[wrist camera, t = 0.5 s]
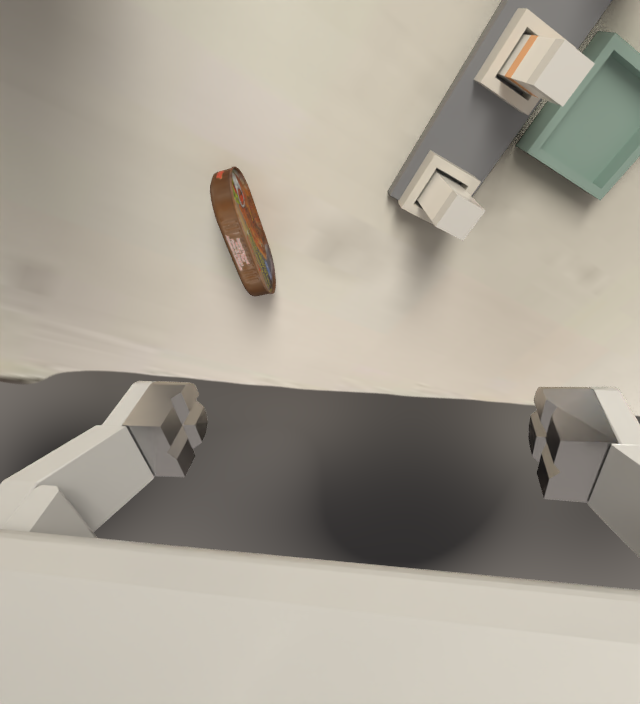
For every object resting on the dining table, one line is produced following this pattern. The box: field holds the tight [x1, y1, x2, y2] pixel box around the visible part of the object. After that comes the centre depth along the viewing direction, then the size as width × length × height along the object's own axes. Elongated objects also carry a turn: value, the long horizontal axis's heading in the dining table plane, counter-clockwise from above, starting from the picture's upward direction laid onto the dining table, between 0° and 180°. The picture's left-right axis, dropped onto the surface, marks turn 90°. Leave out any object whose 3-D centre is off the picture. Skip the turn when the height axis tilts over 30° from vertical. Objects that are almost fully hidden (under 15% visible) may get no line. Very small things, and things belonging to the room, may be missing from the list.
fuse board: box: [388, 0, 612, 226], centre depth 44 cm, size 9×34×4 cm, turn 152°
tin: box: [210, 167, 276, 296], centre depth 51 cm, size 15×3×8 cm, turn 14°
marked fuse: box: [497, 34, 595, 107], centre depth 41 cm, size 4×4×9 cm
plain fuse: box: [417, 170, 485, 241], centre depth 48 cm, size 4×4×9 cm
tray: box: [516, 31, 640, 200], centre depth 49 cm, size 12×12×3 cm
